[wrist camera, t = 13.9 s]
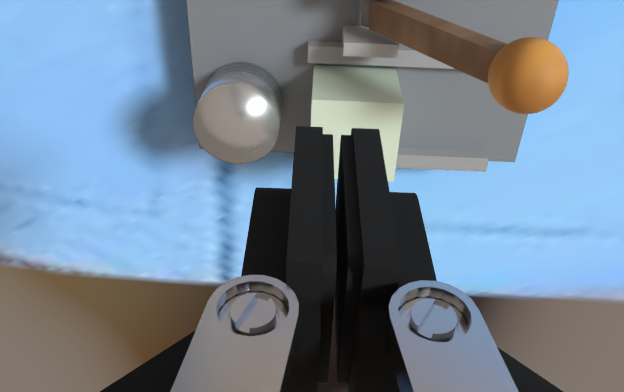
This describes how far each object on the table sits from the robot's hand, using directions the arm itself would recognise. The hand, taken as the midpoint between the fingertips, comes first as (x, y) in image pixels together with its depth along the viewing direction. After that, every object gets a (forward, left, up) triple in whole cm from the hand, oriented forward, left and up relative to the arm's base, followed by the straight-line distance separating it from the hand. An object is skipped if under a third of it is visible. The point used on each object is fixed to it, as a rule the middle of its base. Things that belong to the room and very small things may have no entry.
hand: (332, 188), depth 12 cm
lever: (+1, +2, -16) cm, 16 cm away
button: (+6, -4, -17) cm, 18 cm away
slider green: (+6, +1, -17) cm, 18 cm away
